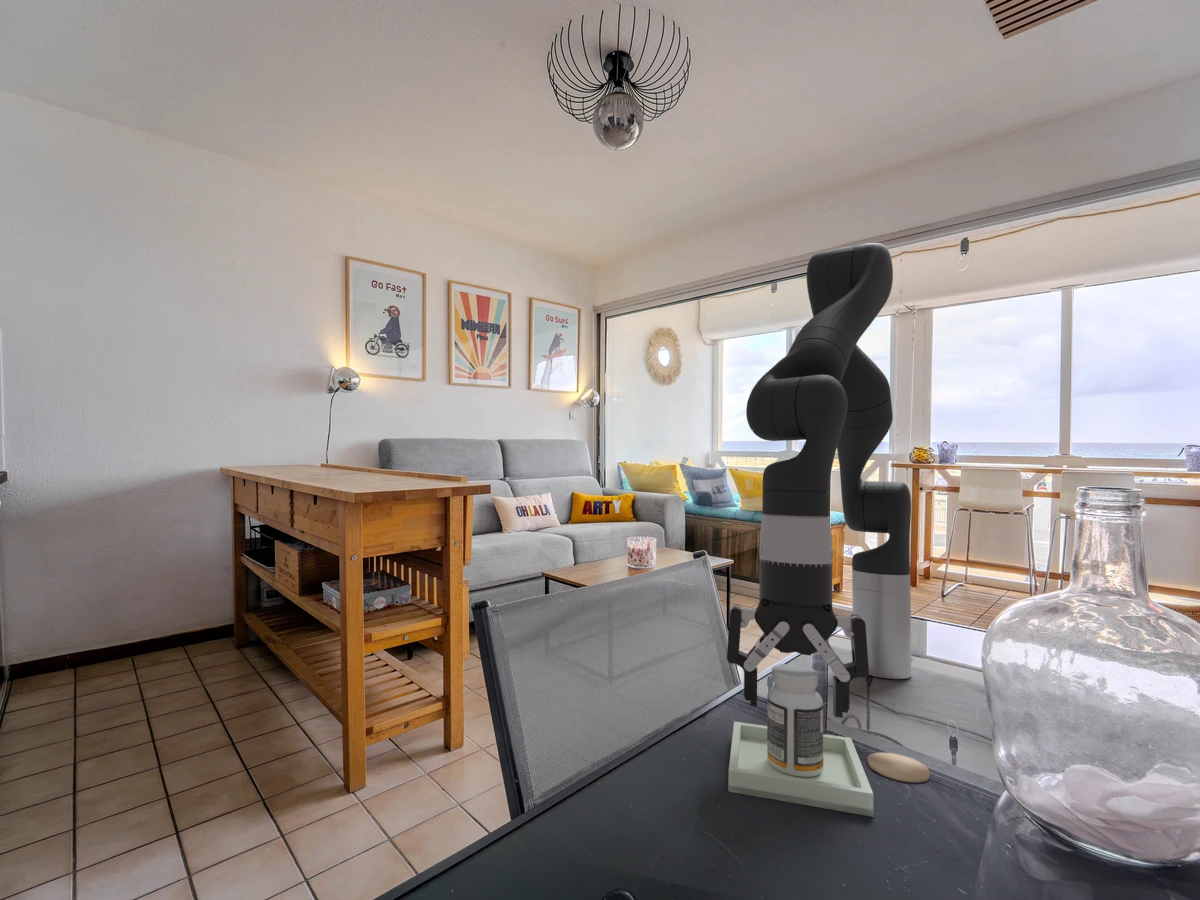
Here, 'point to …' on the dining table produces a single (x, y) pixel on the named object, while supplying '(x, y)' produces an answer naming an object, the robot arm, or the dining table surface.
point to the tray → (829, 789)
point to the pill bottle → (795, 721)
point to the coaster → (898, 767)
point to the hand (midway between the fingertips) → (794, 709)
